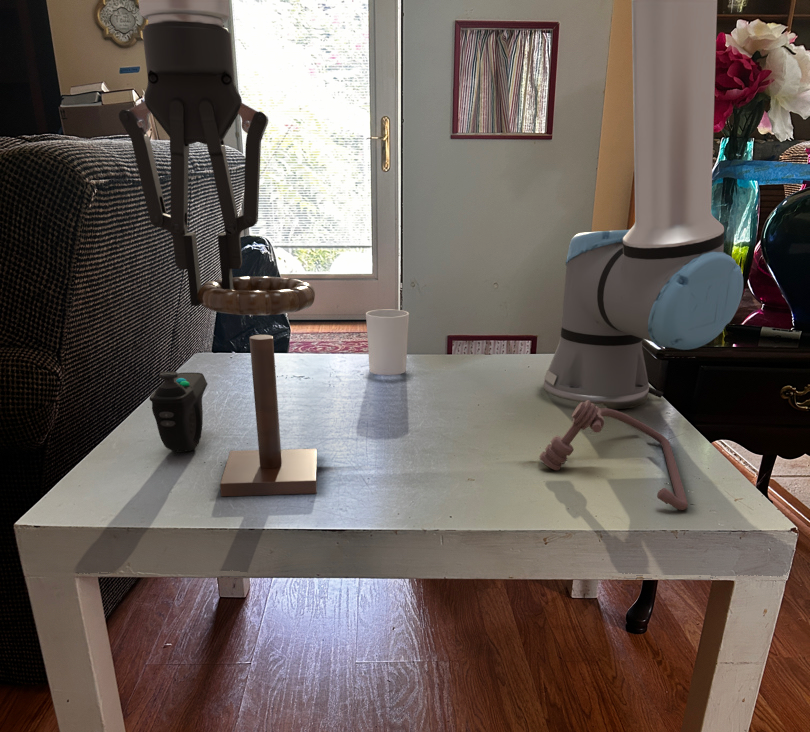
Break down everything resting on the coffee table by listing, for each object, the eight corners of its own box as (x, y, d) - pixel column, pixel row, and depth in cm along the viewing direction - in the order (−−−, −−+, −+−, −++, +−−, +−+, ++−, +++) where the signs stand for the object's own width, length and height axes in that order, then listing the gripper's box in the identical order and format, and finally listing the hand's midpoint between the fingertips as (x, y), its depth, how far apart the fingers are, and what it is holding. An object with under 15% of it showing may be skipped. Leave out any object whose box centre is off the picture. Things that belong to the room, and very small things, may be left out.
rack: (317, 460, 92) (310, 326, 85) (316, 493, 83) (309, 347, 76) (231, 462, 91) (217, 327, 84) (221, 496, 82) (205, 348, 75)
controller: (154, 464, 90) (141, 379, 86) (182, 430, 102) (172, 353, 97) (191, 465, 90) (180, 379, 86) (215, 430, 101) (207, 353, 97)
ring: (316, 297, 84) (315, 276, 84) (313, 317, 74) (313, 293, 73) (208, 296, 84) (207, 274, 83) (191, 316, 73) (189, 292, 72)
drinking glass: (408, 382, 123) (408, 317, 118) (365, 382, 123) (364, 317, 118) (408, 371, 129) (409, 309, 124) (368, 371, 129) (367, 309, 124)
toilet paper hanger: (698, 501, 78) (583, 425, 77) (644, 561, 82) (534, 489, 81) (676, 433, 97) (583, 371, 96) (632, 484, 101) (543, 425, 100)
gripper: (278, 32, 72) (292, 296, 82) (105, 28, 71) (141, 297, 81) (274, 20, 65) (290, 309, 76) (81, 15, 64) (125, 310, 74)
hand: (213, 302), depth 78 cm, fingers closed on ring, 2 cm apart
